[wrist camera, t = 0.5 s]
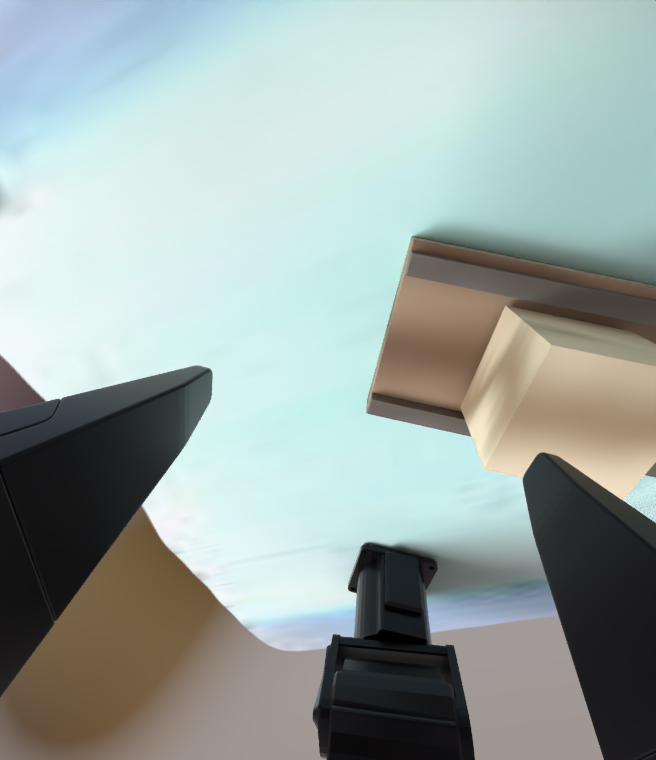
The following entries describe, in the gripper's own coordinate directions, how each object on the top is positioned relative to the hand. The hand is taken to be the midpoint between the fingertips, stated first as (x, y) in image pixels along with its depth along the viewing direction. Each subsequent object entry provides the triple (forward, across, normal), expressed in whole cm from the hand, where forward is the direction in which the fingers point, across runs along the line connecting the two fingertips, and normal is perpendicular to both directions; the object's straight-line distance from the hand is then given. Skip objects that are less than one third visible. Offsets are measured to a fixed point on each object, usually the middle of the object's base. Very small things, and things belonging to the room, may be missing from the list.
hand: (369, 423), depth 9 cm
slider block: (+9, -9, +1) cm, 13 cm away
